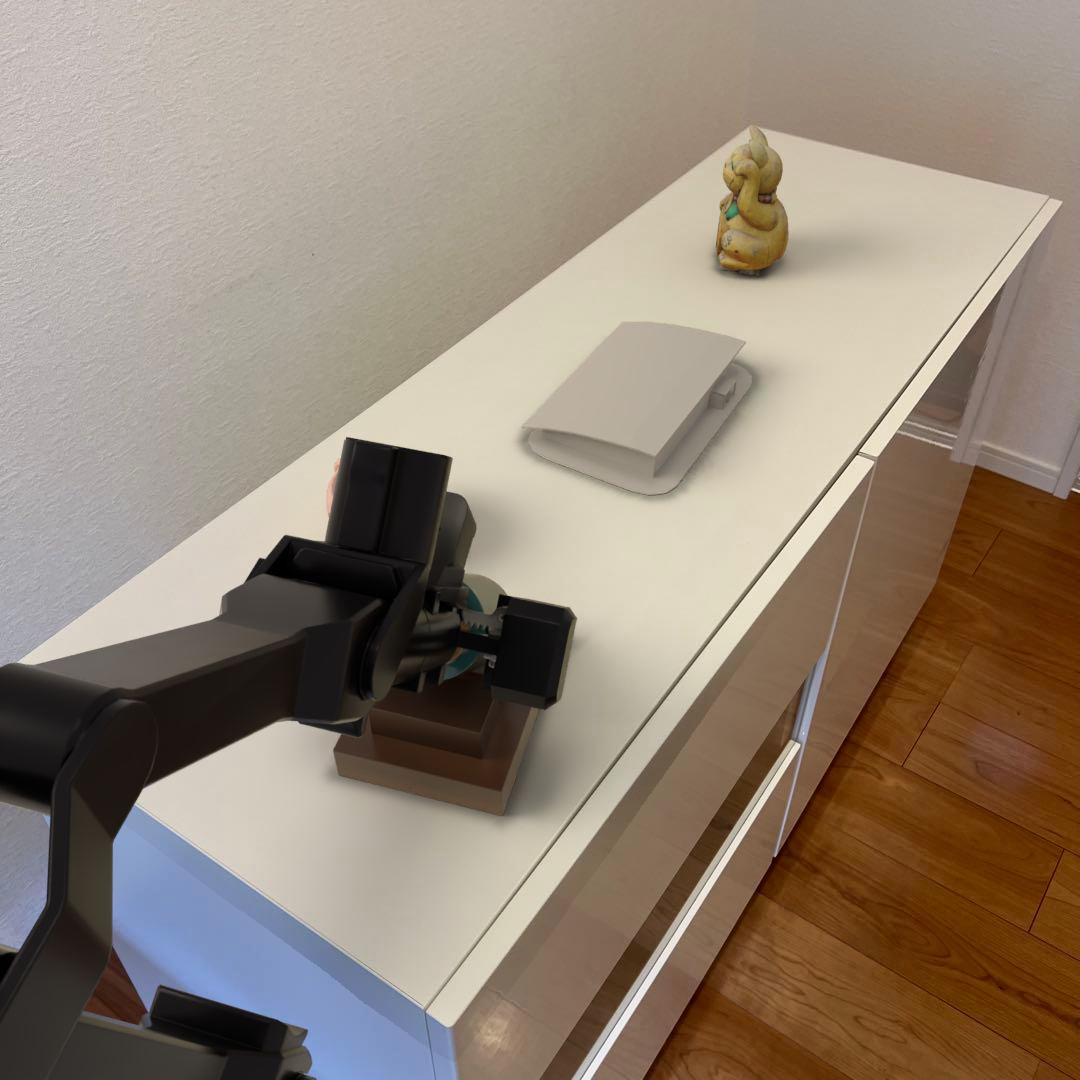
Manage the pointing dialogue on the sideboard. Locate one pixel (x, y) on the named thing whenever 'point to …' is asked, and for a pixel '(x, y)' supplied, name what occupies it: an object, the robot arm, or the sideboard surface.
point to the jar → (479, 600)
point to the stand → (442, 743)
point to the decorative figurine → (752, 209)
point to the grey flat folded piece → (642, 405)
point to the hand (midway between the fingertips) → (455, 622)
